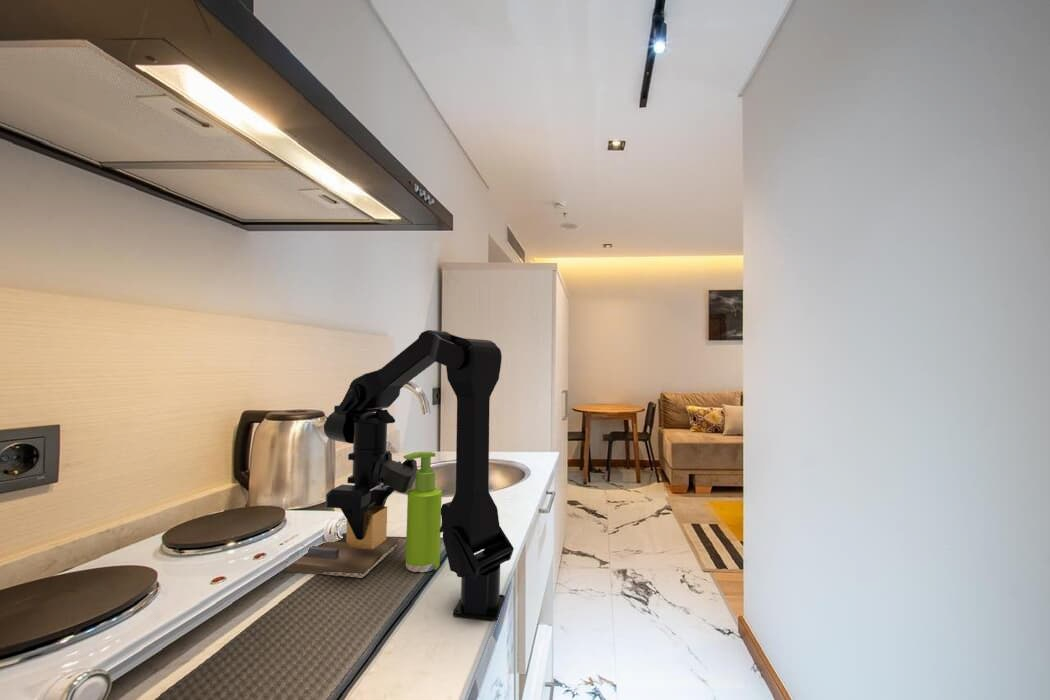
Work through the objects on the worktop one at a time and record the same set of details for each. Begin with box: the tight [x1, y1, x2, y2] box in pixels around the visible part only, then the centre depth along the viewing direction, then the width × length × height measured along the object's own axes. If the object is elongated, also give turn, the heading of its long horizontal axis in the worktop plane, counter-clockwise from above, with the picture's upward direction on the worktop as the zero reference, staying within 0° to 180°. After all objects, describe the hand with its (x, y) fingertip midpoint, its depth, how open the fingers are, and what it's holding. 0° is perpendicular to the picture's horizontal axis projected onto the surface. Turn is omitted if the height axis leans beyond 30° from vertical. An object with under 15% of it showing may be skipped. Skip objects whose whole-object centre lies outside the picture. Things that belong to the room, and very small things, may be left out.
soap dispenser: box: [403, 451, 443, 571], centre depth 84 cm, size 6×7×20 cm
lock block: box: [346, 505, 388, 550], centre depth 86 cm, size 5×5×6 cm
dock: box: [284, 531, 399, 575], centre depth 87 cm, size 14×14×3 cm
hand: (367, 533), depth 86 cm, fingers closed on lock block, 5 cm apart
